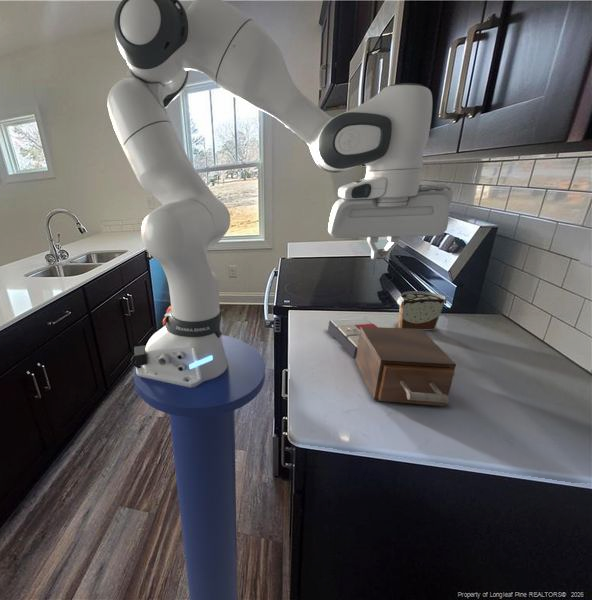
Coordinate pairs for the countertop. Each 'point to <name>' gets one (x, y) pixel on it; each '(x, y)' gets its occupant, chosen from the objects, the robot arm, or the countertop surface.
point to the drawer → (415, 384)
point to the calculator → (348, 332)
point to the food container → (420, 309)
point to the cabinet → (395, 352)
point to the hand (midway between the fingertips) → (379, 258)
